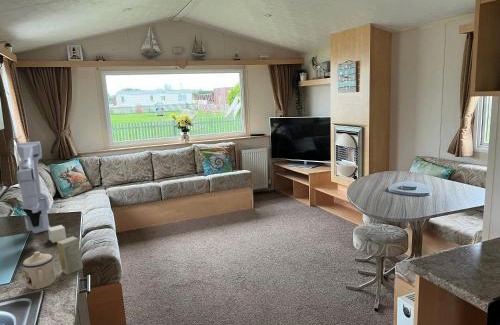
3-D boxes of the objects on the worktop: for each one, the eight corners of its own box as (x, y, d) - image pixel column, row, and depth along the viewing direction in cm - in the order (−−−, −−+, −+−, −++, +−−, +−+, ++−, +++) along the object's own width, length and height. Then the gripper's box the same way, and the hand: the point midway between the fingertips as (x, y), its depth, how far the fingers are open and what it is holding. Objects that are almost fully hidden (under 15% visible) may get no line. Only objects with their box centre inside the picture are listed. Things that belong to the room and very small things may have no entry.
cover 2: (49, 239, 169) (47, 228, 168) (63, 235, 173) (61, 224, 172) (52, 242, 165) (50, 231, 164) (66, 239, 169) (64, 227, 168)
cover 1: (26, 227, 164) (24, 216, 163) (40, 224, 168) (38, 213, 167) (29, 231, 160) (26, 219, 159) (43, 227, 164) (41, 215, 163)
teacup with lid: (26, 282, 129) (20, 251, 127) (55, 274, 134) (50, 244, 132) (27, 297, 119) (21, 263, 117) (58, 288, 124) (53, 256, 122)
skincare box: (78, 265, 141) (73, 235, 138) (83, 268, 138) (79, 238, 136) (61, 272, 136) (56, 241, 134) (66, 275, 133) (61, 243, 131)
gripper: (16, 194, 164) (21, 223, 167) (22, 200, 153) (27, 231, 156) (33, 191, 169) (38, 219, 171) (41, 197, 158) (46, 226, 160)
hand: (34, 224), depth 164 cm, fingers closed on cover 1, 6 cm apart
